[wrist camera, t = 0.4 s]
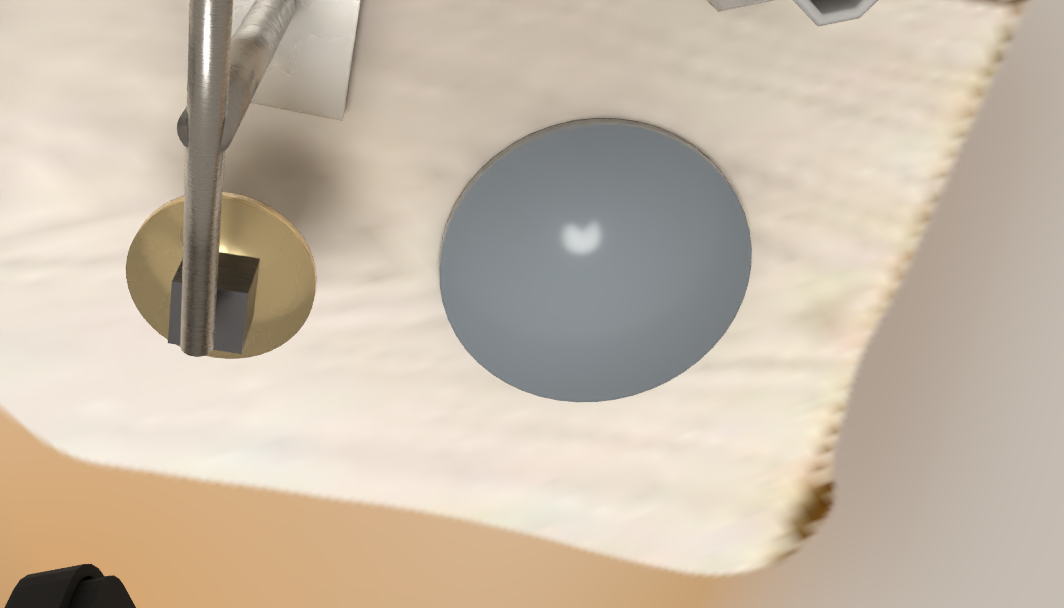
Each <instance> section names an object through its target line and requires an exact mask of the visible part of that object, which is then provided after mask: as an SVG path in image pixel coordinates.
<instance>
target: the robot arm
mask: <svg viewBox="0 0 1064 608" xmlns="http://www.w3.org/2000/svg"><path fill="white" fill-rule="evenodd" d="M5 608H136V607H135V605H134V603H133V601H132V600H131V598H130V596H129V594H128V592H127V590H126V588H125V587H124V585H123V583H122V582H121V581H120V579H119V578H117V577H115V576H104V575H103V574H102V572H101V571H100V570H99V568H97V567H95V566H94V565H92V564H83V565H77V566H72V567H67V568H61V569H56V570H51V571H45V572H40V573H35V574H30V575H27V576H25V577H24V578H22V579H21V580H20V581H19V583H18V584H17V585H16V587H15V588H14V590H13V592H12V594H11V596H10V598H9V600H8V602H7V604H6V606H5Z"/></svg>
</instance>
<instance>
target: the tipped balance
mask: <svg viewBox="0 0 1064 608" xmlns="http://www.w3.org/2000/svg"><path fill="white" fill-rule="evenodd" d="M360 5H361V0H190V12H189V49H188V83H187V107H186V109H185V110H184V112H183V113H182V115H181V116H180V118H179V120H178V124H177V132H178V136H179V138H180V140H181V142H182V143H183V145H184V146H185V147H186V158H185V194H184V196H181V197H179V198H176V199H174V200H171V201H170V202H168V203H166V204H164V205H162V206H161V207H160V208H158V209H157V210H156V211H154V212H153V213H152V214H151V215H150V216H149V217H148V218H147V219H146V220H145V222H144V223H143V225H142V226H141V228H140V229H139V231H138V232H137V234H136V236H135V238H134V240H133V242H132V244H131V246H130V249H129V252H128V256H127V263H126V278H127V283H128V288H129V291H130V294H131V297H132V299H133V301H134V303H135V305H136V307H137V309H138V310H139V312H140V313H141V315H142V316H143V317H144V319H145V320H146V321H147V322H148V323H149V324H150V325H151V326H152V327H153V328H154V329H155V330H156V331H157V332H158V333H159V334H161V335H162V336H164V337H165V338H166V339H168V343H171V344H176V345H178V346H180V347H181V349H182V351H183V352H184V353H186V354H187V355H190V356H195V357H200V356H210V357H215V358H226V359H234V358H246V357H252V356H256V355H261V354H263V353H266V352H269V351H271V350H273V349H275V348H277V347H279V346H281V345H282V344H284V343H285V342H287V341H288V340H290V339H291V338H292V337H293V336H294V335H295V334H296V333H297V332H298V331H299V330H300V328H301V327H302V326H303V324H304V323H305V321H306V319H307V318H308V316H309V313H310V311H311V308H312V305H313V301H314V296H315V292H316V283H317V276H316V267H315V263H314V258H313V256H312V253H311V251H310V248H309V246H308V245H307V243H306V241H305V239H304V238H303V236H302V235H301V234H300V232H299V231H298V230H297V229H296V228H295V226H294V225H293V224H292V223H291V222H290V221H289V220H288V219H286V218H285V217H284V216H283V215H281V214H280V213H279V212H277V211H276V210H274V209H273V208H271V207H270V206H268V205H266V204H264V203H262V202H260V201H258V200H255V199H252V198H249V197H246V196H243V195H239V194H234V193H228V192H223V176H224V158H225V150H226V149H227V148H228V147H229V145H230V143H231V141H232V139H233V137H234V135H235V133H236V131H237V129H238V127H239V125H240V123H241V121H242V119H243V117H244V115H245V113H246V111H247V109H248V107H249V104H250V103H255V104H260V105H265V106H270V107H275V108H281V109H286V110H291V111H296V112H301V113H306V114H311V115H317V116H322V117H327V118H332V119H337V120H342V119H343V115H344V111H345V106H346V99H347V92H348V86H349V79H350V72H351V65H352V59H353V52H354V45H355V39H356V32H357V25H358V19H359V12H360Z"/></svg>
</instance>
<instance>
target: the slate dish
mask: <svg viewBox="0 0 1064 608" xmlns="http://www.w3.org/2000/svg"><path fill="white" fill-rule="evenodd" d="M751 251H752V248H751V240H750V232H749V228H748V224H747V221H746V217H745V214H744V211H743V209H742V207H741V205H740V203H739V201H738V198H737V196H736V195H735V193H734V191H733V190H732V188H731V186H730V185H729V183H728V182H727V180H726V179H725V177H724V176H723V174H722V173H721V171H720V170H719V169H718V168H717V167H716V166H715V165H714V164H713V163H712V161H711V160H710V159H709V158H708V157H707V156H705V155H704V154H703V153H702V152H701V151H699V150H698V149H697V148H696V147H694V146H693V145H692V144H690V143H688V142H687V141H685V140H683V139H682V138H680V137H678V136H677V135H674V134H672V133H670V132H667V131H665V130H663V129H660V128H658V127H655V126H651V125H647V124H644V123H640V122H636V121H629V120H621V119H587V120H578V121H571V122H567V123H563V124H559V125H555V126H551V127H548V128H546V129H543V130H541V131H538V132H535V133H533V134H530V135H528V136H527V137H525V138H523V139H521V140H519V141H517V142H515V143H513V144H512V145H510V146H509V147H507V148H506V149H504V150H503V151H502V152H500V153H499V154H497V155H496V156H495V157H493V158H492V159H491V160H490V161H489V162H488V163H487V164H486V165H485V166H484V167H482V168H481V169H480V170H479V171H478V173H477V174H476V175H475V176H474V177H473V178H472V180H471V181H470V182H469V183H468V184H467V186H466V187H465V189H464V190H463V192H462V193H461V195H460V196H459V198H458V200H457V201H456V203H455V205H454V207H453V209H452V212H451V214H450V216H449V218H448V221H447V224H446V227H445V231H444V234H443V238H442V244H441V252H440V289H441V295H442V301H443V305H444V308H445V311H446V314H447V317H448V320H449V322H450V324H451V326H452V328H453V330H454V332H455V334H456V336H457V337H458V339H459V340H460V342H461V343H462V345H463V346H464V347H465V349H466V350H467V351H468V352H469V353H470V354H471V356H472V357H473V358H474V359H475V360H476V361H477V362H478V363H479V364H480V365H482V366H483V367H484V368H485V369H486V370H488V371H489V372H490V373H491V374H493V375H494V376H496V377H498V378H499V379H501V380H502V381H504V382H505V383H507V384H509V385H512V386H514V387H516V388H518V389H520V390H522V391H525V392H528V393H531V394H534V395H537V396H540V397H545V398H550V399H554V400H560V401H571V402H599V401H607V400H615V399H619V398H624V397H628V396H633V395H636V394H639V393H642V392H645V391H647V390H650V389H653V388H655V387H657V386H659V385H661V384H664V383H666V382H668V381H670V380H671V379H673V378H675V377H676V376H678V375H680V374H681V373H683V372H685V371H686V370H687V369H689V368H690V367H691V366H693V365H694V364H695V363H697V362H698V361H699V360H700V359H701V358H702V357H703V356H704V355H706V354H707V353H708V352H709V351H710V350H711V349H712V348H713V347H714V346H715V344H716V343H717V342H718V341H719V340H720V338H721V337H722V336H723V335H724V334H725V332H726V331H727V329H728V327H729V326H730V324H731V323H732V321H733V320H734V318H735V316H736V314H737V312H738V310H739V308H740V306H741V303H742V301H743V298H744V295H745V292H746V289H747V286H748V282H749V276H750V270H751Z"/></svg>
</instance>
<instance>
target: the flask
mask: <svg viewBox="0 0 1064 608" xmlns="http://www.w3.org/2000/svg"><path fill="white" fill-rule="evenodd" d="M707 1H708V2H709V3H710V4H711V5H712V6H713V7H714V8H715V9H716V10H717V11H723V10H728V9H733V8H738V7H742V6H747V5H752V4H757V3H762V2H767V1H772V0H707ZM793 1H794V2H795V3H796V4H797V5H798V6H799V7H800V8H801V9H802V10H803V11H804V12H805V13H806V14H807V16H808V17H809V18H810V19H811V20H812V21H813V22H814V23H815V24H816V25H817V26H823V25H827V24H832V23H837V22H842V21H847V20H852V19H857V18H860V17H861V16H862V15H863V14H864V13H865V12H866V11H867V10H868V9H869V8H870V7H872V6H873V5H874V4H875V3H876V2H877V1H878V0H793Z"/></svg>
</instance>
